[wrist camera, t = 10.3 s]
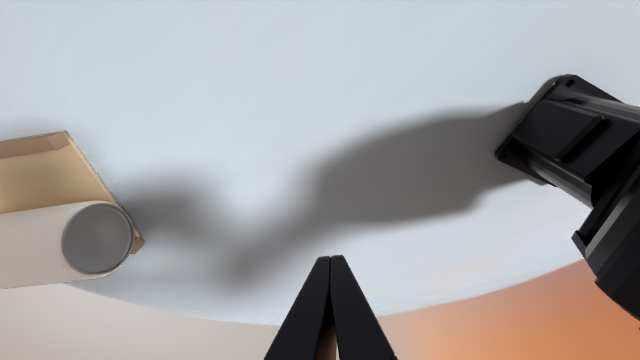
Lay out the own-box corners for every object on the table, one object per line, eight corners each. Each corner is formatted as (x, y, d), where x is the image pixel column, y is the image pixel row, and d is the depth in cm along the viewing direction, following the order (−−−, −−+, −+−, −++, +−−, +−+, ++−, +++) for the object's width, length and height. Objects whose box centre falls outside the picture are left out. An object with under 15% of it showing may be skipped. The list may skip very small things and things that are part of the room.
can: (141, 263, 24) (37, 274, 25) (133, 196, 24) (30, 211, 25) (63, 294, 17) (-71, 307, 19) (52, 203, 17) (-80, 223, 19)
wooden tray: (65, 130, 19) (46, 137, 18) (145, 242, 25) (135, 253, 24) (-79, 154, 21) (-106, 162, 19) (28, 254, 27) (13, 265, 25)
